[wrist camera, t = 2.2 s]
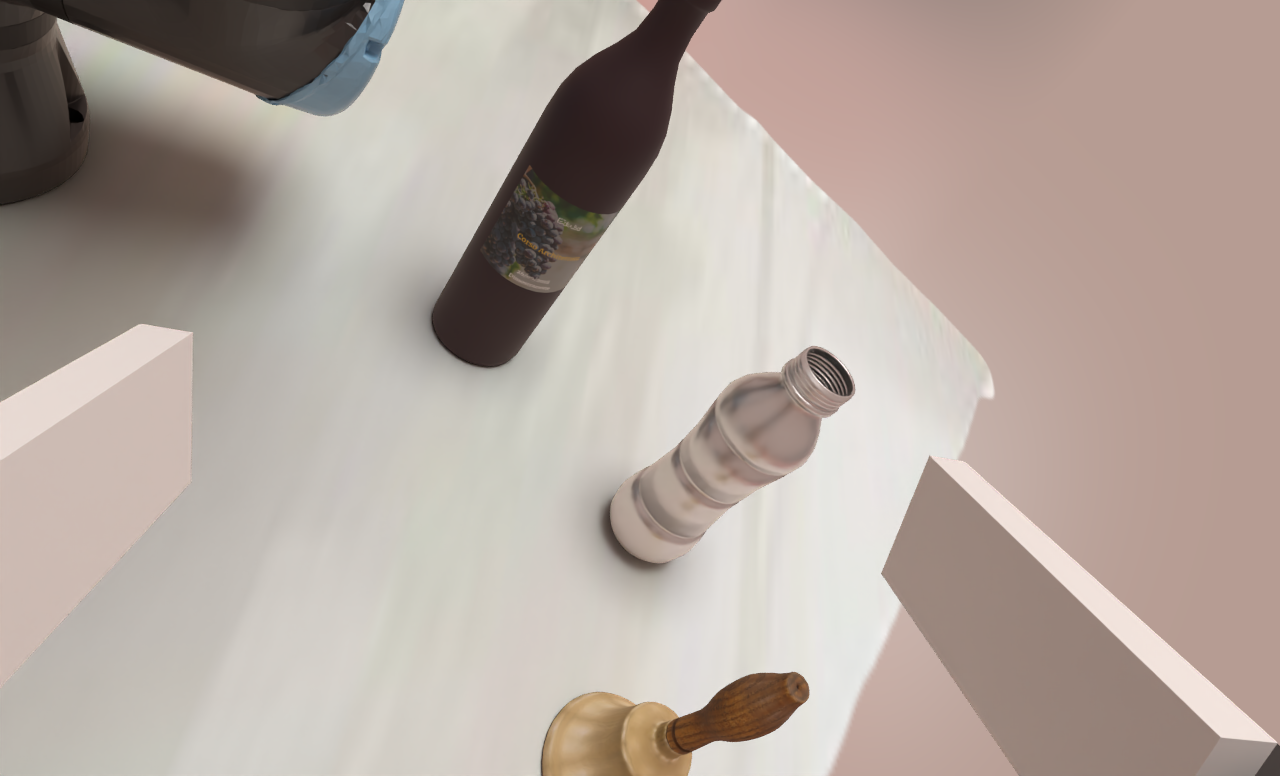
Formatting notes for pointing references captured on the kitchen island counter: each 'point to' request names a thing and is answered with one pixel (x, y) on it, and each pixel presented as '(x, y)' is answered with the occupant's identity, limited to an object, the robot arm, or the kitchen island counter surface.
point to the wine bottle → (566, 187)
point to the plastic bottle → (729, 455)
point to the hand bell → (664, 728)
